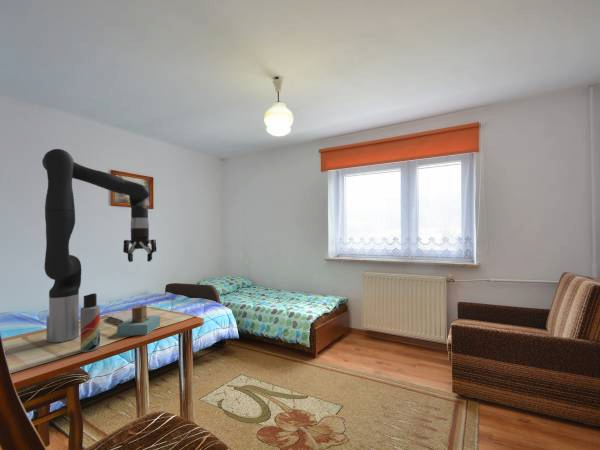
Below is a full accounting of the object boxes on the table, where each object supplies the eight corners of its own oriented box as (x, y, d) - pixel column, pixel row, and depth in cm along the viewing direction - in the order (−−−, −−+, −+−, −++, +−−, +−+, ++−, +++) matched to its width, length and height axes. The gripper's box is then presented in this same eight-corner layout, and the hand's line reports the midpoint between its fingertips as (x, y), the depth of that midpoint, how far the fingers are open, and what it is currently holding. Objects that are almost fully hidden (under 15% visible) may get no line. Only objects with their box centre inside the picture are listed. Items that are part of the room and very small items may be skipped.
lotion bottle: (89, 352, 101) (89, 295, 101) (76, 351, 102) (76, 295, 102) (103, 346, 107) (103, 292, 107) (91, 345, 108) (90, 291, 108)
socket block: (117, 335, 117) (117, 325, 117) (132, 325, 129) (132, 317, 129) (147, 334, 118) (147, 324, 118) (160, 324, 130) (160, 316, 130)
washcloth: (129, 314, 150) (129, 308, 150) (149, 319, 140) (149, 313, 141) (104, 320, 140) (104, 314, 140) (123, 326, 130) (123, 319, 131)
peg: (132, 331, 122) (132, 308, 122) (137, 328, 126) (137, 305, 126) (142, 331, 122) (141, 307, 122) (146, 328, 126) (146, 305, 126)
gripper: (119, 227, 133) (120, 262, 133) (151, 227, 134) (151, 262, 133) (128, 227, 140) (129, 261, 140) (158, 227, 141) (158, 260, 141)
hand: (140, 261), depth 137 cm, fingers open, 8 cm apart
